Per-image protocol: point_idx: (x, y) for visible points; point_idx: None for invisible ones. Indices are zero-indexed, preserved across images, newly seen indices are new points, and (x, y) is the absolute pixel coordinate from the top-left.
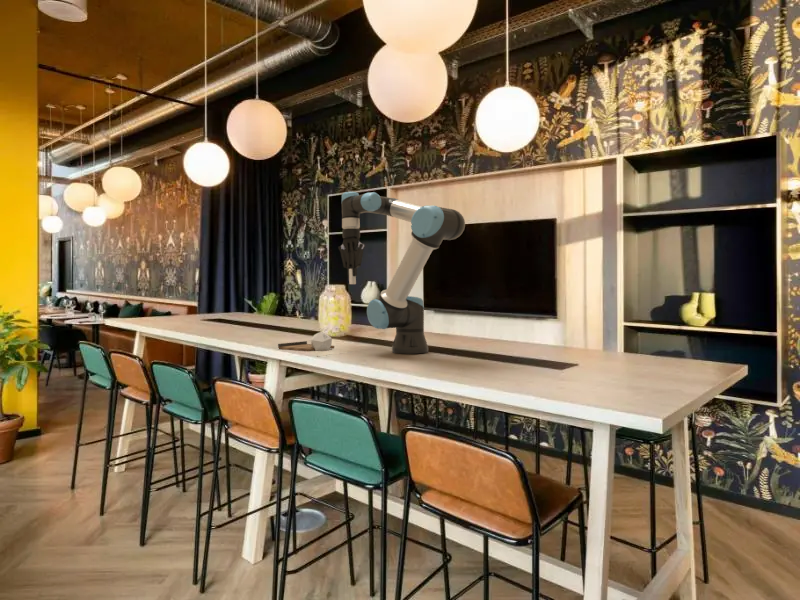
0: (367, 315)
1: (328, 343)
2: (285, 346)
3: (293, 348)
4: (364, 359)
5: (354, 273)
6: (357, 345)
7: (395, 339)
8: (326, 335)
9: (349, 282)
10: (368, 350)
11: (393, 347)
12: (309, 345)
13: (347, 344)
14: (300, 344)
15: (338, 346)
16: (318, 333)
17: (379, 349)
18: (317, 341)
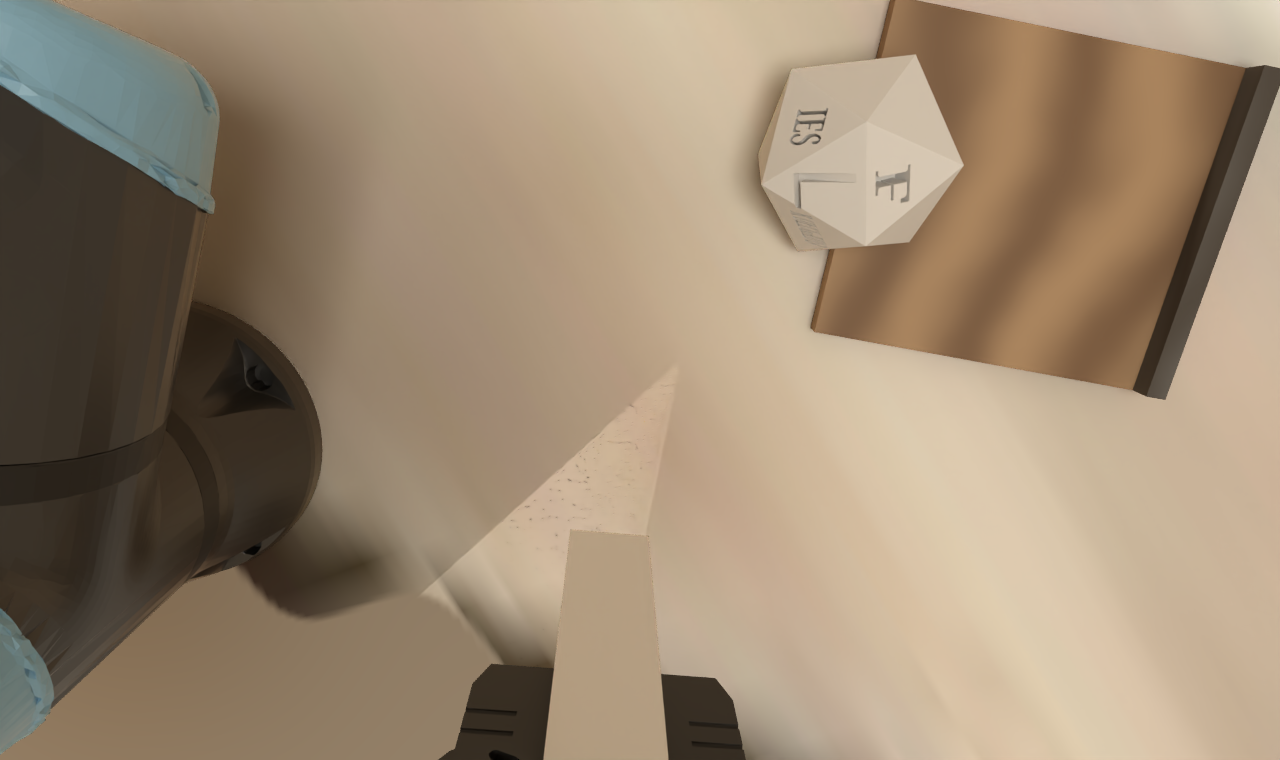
0: (181, 59)
1: (767, 145)
2: (1206, 114)
3: (1066, 32)
4: None
5: (484, 711)
6: (746, 587)
7: (209, 372)
8: (806, 150)
9: (644, 553)
10: (444, 266)
11: (249, 339)
12: (1039, 277)
13: (867, 630)
14: (1159, 317)
15: (852, 464)
16: (888, 116)
17: (408, 369)
18: (846, 63)
